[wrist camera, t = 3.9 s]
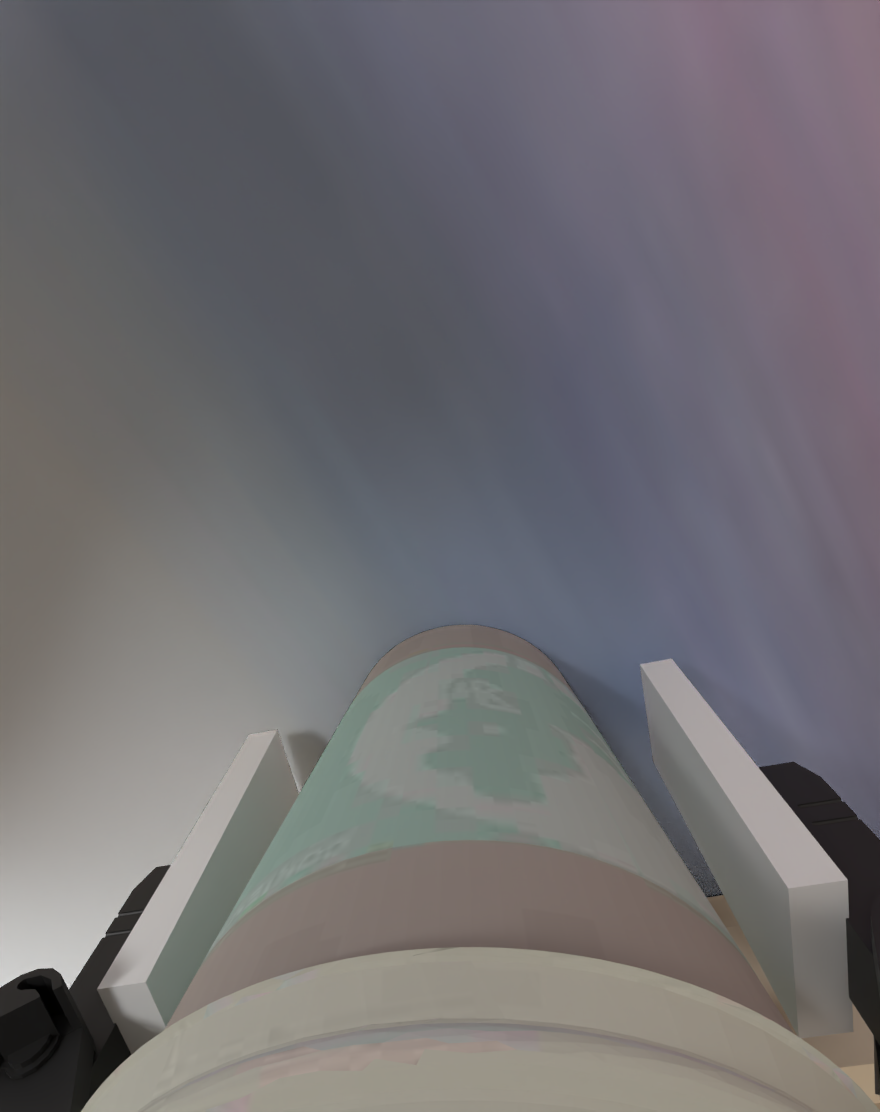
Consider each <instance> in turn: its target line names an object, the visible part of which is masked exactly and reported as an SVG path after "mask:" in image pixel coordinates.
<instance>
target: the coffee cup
mask: <svg viewBox="0 0 880 1112" xmlns="http://www.w3.org/2000/svg"><path fill="white" fill-rule="evenodd" d="M81 1112H880V1110H879V1109H878V1107H877V1106H876V1105H875V1104H874V1103H873V1101H872V1100H871V1099H870V1098H869V1097H868V1096H867V1094H866V1093H865V1092H864V1091H863V1090H862V1089H861V1088H860V1087H859V1086H858V1085H857V1084H856V1083H855V1082H854V1081H853V1080H852V1079H851V1078H850V1077H849V1076H848V1075H847V1074H846V1073H845V1072H843V1071H842V1070H841V1069H840V1068H839V1067H838V1066H837V1065H835V1064H834V1063H833V1062H832V1061H831V1060H829V1059H828V1058H827V1057H826V1056H824V1055H823V1054H822V1053H821V1052H819V1051H818V1050H817V1049H815V1048H814V1047H812V1046H811V1045H810V1044H808V1043H807V1042H805V1041H804V1040H803V1039H801V1038H799V1037H798V1036H796V1035H795V1034H794V1033H793V1032H792V1030H791V1029H790V1027H789V1025H788V1024H787V1022H786V1021H785V1019H784V1018H783V1016H782V1015H781V1013H780V1011H779V1010H778V1008H777V1007H776V1005H775V1004H774V1002H773V1000H772V999H771V997H770V996H769V994H768V993H767V991H766V989H765V988H764V986H763V985H762V983H761V982H760V980H759V979H758V977H757V975H756V973H755V972H754V970H753V969H752V967H751V966H750V964H749V963H748V961H747V959H746V958H745V956H744V955H743V953H742V952H741V950H740V949H739V947H738V946H737V944H736V942H735V941H734V939H733V938H732V936H731V935H730V933H729V932H728V930H727V928H726V927H725V925H724V924H723V922H722V921H721V919H720V918H719V916H718V915H717V913H716V911H715V910H714V908H713V907H712V905H711V904H710V902H709V901H708V899H707V898H706V896H705V894H704V893H703V891H702V890H701V888H700V887H699V885H698V884H697V882H696V881H695V879H694V877H693V876H692V874H691V873H690V871H689V870H688V868H687V867H686V865H685V863H684V862H683V860H682V859H681V857H680V856H679V854H678V853H677V851H676V850H675V848H674V846H673V845H672V843H671V842H670V840H669V839H668V837H667V836H666V834H665V833H664V831H663V829H662V828H661V826H660V825H659V823H658V822H657V820H656V819H655V817H654V815H653V814H652V812H651V811H650V809H649V808H648V806H647V805H646V803H645V802H644V800H643V798H642V797H641V795H640V794H639V792H638V791H637V789H636V788H635V786H634V785H633V783H632V781H631V780H630V778H629V777H628V775H627V774H626V772H625V771H624V769H623V768H622V766H621V764H620V763H619V761H618V760H617V758H616V757H615V755H614V754H613V752H612V750H611V749H610V747H609V746H608V744H607V743H606V741H605V740H604V738H603V737H602V735H601V733H600V732H599V730H598V729H597V727H596V726H595V724H594V723H593V721H592V720H591V718H590V716H589V715H588V713H587V712H586V710H585V709H584V707H583V706H582V704H581V703H580V702H579V700H578V699H577V697H576V696H575V694H574V693H573V691H572V690H571V688H570V686H569V685H568V683H567V682H566V680H565V679H564V677H563V676H562V674H561V673H560V672H559V670H558V669H557V667H556V666H555V665H554V664H553V662H552V661H551V660H550V659H549V658H548V657H547V656H546V655H545V654H543V653H542V652H541V651H540V650H539V649H537V648H536V647H535V646H533V645H532V644H530V643H529V642H527V641H525V640H523V639H522V638H520V637H518V636H515V635H513V634H511V633H508V632H505V631H502V630H499V629H495V628H491V627H486V626H479V625H451V626H444V627H439V628H435V629H431V630H427V631H424V632H421V633H419V634H417V635H414V636H412V637H410V638H408V639H406V640H405V641H403V642H401V643H400V644H398V645H397V646H395V647H394V648H393V649H391V650H390V651H389V652H388V653H387V654H385V655H384V656H383V657H382V658H381V659H380V660H379V662H378V663H377V664H376V665H375V666H374V668H373V669H372V670H371V672H370V673H369V675H368V676H367V678H366V680H365V681H364V683H363V685H362V687H361V688H360V690H359V692H358V693H357V695H356V697H355V698H354V700H353V702H352V703H351V705H350V707H349V709H348V710H347V712H346V713H345V715H344V717H343V719H342V720H341V722H340V724H339V726H338V727H337V729H336V731H335V733H334V734H333V736H332V738H331V740H330V741H329V743H328V745H327V746H326V748H325V750H324V752H323V753H322V755H321V757H320V759H319V760H318V762H317V764H316V766H315V767H314V769H313V771H312V773H311V774H310V776H309V778H308V780H307V781H306V783H305V785H304V786H303V788H302V790H301V792H300V793H299V795H298V797H297V799H296V800H295V802H294V804H293V806H292V807H291V809H290V811H289V813H288V814H287V816H286V818H285V820H284V821H283V823H282V825H281V826H280V828H279V830H278V832H277V833H276V835H275V837H274V839H273V840H272V842H271V844H270V846H269V847H268V849H267V851H266V853H265V854H264V856H263V858H262V859H261V861H260V863H259V865H258V866H257V868H256V870H255V872H254V873H253V875H252V877H251V879H250V880H249V882H248V884H247V886H246V887H245V889H244V891H243V893H242V894H241V896H240V898H239V899H238V901H237V903H236V905H235V906H234V908H233V910H232V912H231V913H230V915H229V917H228V919H227V920H226V922H225V924H224V926H223V927H222V929H221V931H220V933H219V934H218V936H217V938H216V939H215V941H214V943H213V945H212V946H211V948H210V950H209V952H208V953H207V955H206V957H205V959H204V960H203V962H202V964H201V966H200V967H199V969H198V971H197V972H196V974H195V977H194V978H193V980H192V982H191V984H190V985H189V987H188V989H187V991H186V992H185V994H184V996H183V998H182V999H181V1001H180V1003H179V1005H178V1006H177V1008H176V1010H175V1012H174V1013H173V1015H172V1017H171V1019H170V1021H169V1022H168V1024H167V1026H166V1028H165V1029H164V1030H163V1031H162V1032H161V1033H159V1034H158V1035H156V1036H155V1037H153V1038H152V1039H151V1040H149V1041H148V1042H147V1043H145V1044H144V1045H143V1046H141V1047H140V1048H139V1049H138V1050H137V1051H135V1052H134V1053H133V1054H132V1055H131V1056H129V1057H128V1058H127V1059H126V1060H125V1061H124V1062H123V1063H122V1064H121V1065H120V1066H119V1067H118V1068H116V1069H115V1070H114V1071H113V1072H112V1073H111V1074H110V1076H109V1077H108V1078H107V1079H106V1080H105V1081H104V1082H103V1083H102V1084H101V1086H100V1087H99V1088H98V1089H97V1090H96V1092H95V1093H94V1094H93V1095H92V1097H91V1098H90V1099H89V1101H88V1102H87V1103H86V1105H85V1106H84V1108H83V1109H82V1111H81Z"/></svg>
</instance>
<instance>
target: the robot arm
mask: <svg viewBox="0 0 880 1112" xmlns="http://www.w3.org/2000/svg"><path fill="white" fill-rule="evenodd" d="M640 670H641V677H642V685H643V692H644V699H645V707H646V714H647V721H648V729H649V736H650V743H651V751H652V758H653V762H654V764H655V766H656V768H657V770H658V772H659V774H660V776H661V778H662V779H663V781H664V783H665V785H666V787H667V789H668V791H669V793H670V795H671V797H672V798H673V800H674V802H675V804H676V806H677V808H678V810H679V812H680V814H681V816H682V817H683V819H684V821H685V823H686V825H687V827H688V829H689V831H690V833H691V835H692V836H693V838H694V840H695V842H696V844H697V846H698V848H699V850H700V852H701V854H702V855H703V857H704V859H705V861H706V863H707V865H708V867H709V869H710V871H711V873H712V874H713V876H714V878H715V880H716V882H717V884H718V886H719V888H720V890H721V892H722V893H723V895H724V897H725V899H726V901H727V903H728V905H729V907H730V909H731V911H732V912H733V914H734V916H735V918H736V920H737V922H738V924H739V926H740V928H741V930H742V931H743V933H744V935H745V937H746V939H747V941H748V943H749V945H750V947H751V949H752V950H753V952H754V954H755V956H756V958H757V960H758V962H759V964H760V966H761V968H762V969H763V971H764V973H765V975H766V977H767V979H768V981H769V983H770V985H771V987H772V988H773V990H774V992H775V994H776V996H777V998H778V1000H779V1002H780V1004H781V1006H782V1007H783V1009H784V1011H785V1013H786V1015H787V1017H788V1019H789V1021H790V1023H791V1025H792V1026H793V1028H794V1030H795V1032H796V1034H797V1036H798V1037H799V1038H808V1037H816V1036H824V1035H832V1034H840V1033H848V1032H853V1010H852V1003H853V1004H854V1006H855V1007H856V1009H857V1011H858V1012H859V1014H860V1015H861V1017H862V1018H863V1020H864V1021H865V1023H866V1025H867V1026H868V1028H869V1029H870V1031H871V1032H872V1034H873V1035H874V1072H875V1094H877V1095H880V840H879V839H878V838H877V836H876V835H875V834H874V833H873V832H872V831H871V830H870V829H869V828H868V827H867V826H866V825H865V824H864V823H863V821H862V820H858V818H857V815H856V814H855V813H854V812H853V811H852V810H851V809H850V808H849V807H848V805H847V804H846V803H845V802H842V801H841V798H840V797H839V796H838V795H837V794H836V793H835V792H834V790H833V789H832V788H831V787H830V786H829V785H828V784H827V783H826V782H825V781H824V780H823V779H822V778H821V777H820V776H818V775H816V774H814V773H813V772H811V771H809V770H807V769H805V768H804V767H802V766H800V765H798V764H797V763H795V762H789V763H783V764H777V765H771V766H765V767H759V768H758V766H757V765H756V764H755V763H754V761H753V760H752V759H751V758H750V756H749V755H748V754H747V753H746V751H745V750H744V749H743V748H742V746H741V745H740V744H739V743H738V741H737V740H736V739H735V737H734V736H733V735H732V734H731V732H730V731H729V730H728V729H727V727H726V726H725V725H724V724H723V722H722V721H721V720H720V719H719V717H718V716H717V715H716V714H715V712H714V711H713V710H712V709H711V707H710V706H709V705H708V704H707V702H706V701H705V700H704V698H703V697H702V696H701V695H700V693H699V692H698V691H697V690H696V688H695V687H694V686H693V685H692V683H691V682H690V681H689V680H688V678H687V677H686V676H685V675H684V673H683V672H682V671H681V670H680V668H679V667H678V666H677V665H676V663H675V662H674V661H673V659H666V660H661V661H655V662H650V663H644V664H640ZM298 795H299V794H298V790H297V787H296V784H295V781H294V778H293V775H292V772H291V769H290V766H289V763H288V760H287V757H286V754H285V751H284V748H283V745H282V742H281V739H280V736H279V733H278V729H277V730H272V731H266V732H261V733H255V734H249V735H248V737H247V739H246V740H245V742H244V744H243V745H242V747H241V749H240V750H239V752H238V754H237V755H236V757H235V759H234V760H233V762H232V764H231V765H230V767H229V769H228V770H227V772H226V774H225V775H224V777H223V779H222V780H221V782H220V784H219V785H218V787H217V789H216V790H215V792H214V794H213V796H212V797H211V799H210V801H209V802H208V804H207V806H206V807H205V809H204V811H203V812H202V814H201V816H200V817H199V819H198V821H197V822H196V824H195V826H194V827H193V829H192V831H191V832H190V834H189V836H188V837H187V839H186V841H185V842H184V844H183V846H182V847H181V849H180V851H179V852H178V854H177V856H176V857H175V859H174V861H173V863H172V864H171V865H168V866H161V867H156V868H155V869H154V870H153V871H152V872H151V873H150V874H149V875H148V876H147V877H146V878H145V879H144V880H143V881H142V882H141V883H140V884H139V885H138V886H137V887H136V888H134V890H133V891H132V893H131V894H130V896H129V897H128V899H127V900H126V902H125V904H124V905H123V907H122V908H121V910H120V911H119V913H118V914H119V916H118V917H117V918H115V919H114V921H113V922H112V924H111V925H110V927H109V928H108V930H107V932H106V937H105V938H102V939H101V941H100V942H99V944H98V946H97V947H96V949H95V950H94V952H93V953H92V955H91V956H90V958H89V960H88V961H87V963H86V964H85V966H84V967H83V969H82V970H81V972H80V974H79V975H78V977H77V978H76V980H75V981H74V983H73V984H72V986H71V988H70V989H69V990H68V988H67V986H66V984H65V982H64V980H63V978H62V976H61V974H60V973H58V972H57V971H56V970H54V969H53V968H48V969H37V970H34V971H31V972H28V973H26V974H23V975H20V976H19V977H17V978H15V979H14V980H12V981H10V982H9V983H7V984H5V985H4V986H2V987H1V988H0V1112H81V1111H82V1109H83V1108H84V1106H85V1105H86V1103H87V1102H88V1101H89V1099H90V1098H91V1097H92V1095H93V1094H94V1093H95V1092H96V1090H97V1089H98V1088H99V1087H100V1086H101V1084H102V1083H103V1082H104V1081H105V1080H106V1079H107V1078H108V1077H109V1076H110V1074H111V1073H112V1072H113V1071H114V1070H115V1069H116V1068H118V1067H119V1066H120V1065H121V1064H122V1063H123V1062H124V1061H125V1060H126V1059H127V1058H128V1057H129V1056H131V1055H132V1054H133V1053H134V1052H135V1051H137V1050H138V1049H139V1048H140V1047H141V1046H143V1045H144V1044H145V1043H147V1042H148V1041H149V1040H151V1039H152V1038H153V1037H155V1036H156V1035H158V1034H159V1033H161V1032H162V1031H163V1030H164V1029H165V1028H166V1026H167V1024H168V1022H169V1021H170V1019H171V1017H172V1015H173V1013H174V1012H175V1010H176V1008H177V1006H178V1005H179V1003H180V1001H181V999H182V998H183V996H184V994H185V992H186V991H187V989H188V987H189V985H190V984H191V982H192V980H193V978H194V977H195V974H196V972H197V971H198V969H199V967H200V966H201V964H202V962H203V960H204V959H205V957H206V955H207V953H208V952H209V950H210V948H211V946H212V945H213V943H214V941H215V939H216V938H217V936H218V934H219V933H220V931H221V929H222V927H223V926H224V924H225V922H226V920H227V919H228V917H229V915H230V913H231V912H232V910H233V908H234V906H235V905H236V903H237V901H238V899H239V898H240V896H241V894H242V893H243V891H244V889H245V887H246V886H247V884H248V882H249V880H250V879H251V877H252V875H253V873H254V872H255V870H256V868H257V866H258V865H259V863H260V861H261V859H262V858H263V856H264V854H265V853H266V851H267V849H268V847H269V846H270V844H271V842H272V840H273V839H274V837H275V835H276V833H277V832H278V830H279V828H280V826H281V825H282V823H283V821H284V820H285V818H286V816H287V814H288V813H289V811H290V809H291V807H292V806H293V804H294V802H295V800H296V799H297V797H298Z"/></svg>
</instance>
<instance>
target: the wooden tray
mask: <svg viewBox="0 0 880 1112" xmlns="http://www.w3.org/2000/svg"><path fill="white" fill-rule="evenodd" d="M706 898H707V899H708V901H709V902H710V904H711V905H712V907H713V908H714V910H715V911H716V913H717V915H718V916H719V918H720V919H721V921H722V922H723V924H724V925H725V927H726V928H727V930H728V932H729V933H730V935H731V936H732V938H733V939H734V941H735V942H736V944H737V946H738V947H739V949H740V950H741V952H742V953H743V955H744V956H745V958H746V959H747V961H748V963H749V964H750V966H751V967H752V969H753V970H754V972H755V973H756V975H757V977H758V979H759V980H760V982H761V983H762V985H763V986H764V988H765V989H766V991H767V993H768V994H769V996H770V997H771V999H772V1000H773V1002H774V1004H775V1005H776V1007H777V1008H778V1010H779V1011H780V1013H781V1015H782V1016H783V1018H784V1019H785V1021H786V1022H787V1024H788V1025H789V1027H790V1029H791V1030H792V1032H793V1033H794V1034H795V1035H796V1036H797V1034H796V1032H795V1030H794V1028H793V1026H792V1025H791V1023H790V1021H789V1019H788V1017H787V1015H786V1013H785V1011H784V1009H783V1007H782V1006H781V1004H780V1002H779V1000H778V998H777V996H776V994H775V992H774V990H773V988H772V987H771V985H770V983H769V981H768V979H767V977H766V975H765V973H764V971H763V969H762V968H761V966H760V964H759V962H758V960H757V958H756V956H755V954H754V952H753V950H752V949H751V947H750V945H749V943H748V941H747V939H746V937H745V935H744V933H743V931H742V930H741V928H740V926H739V924H738V922H737V920H736V918H735V916H734V914H733V912H732V911H731V909H730V907H729V905H728V903H727V901H726V899H725V897H724V895H719V896H713V897H706ZM852 1010H853V1032H848V1033H840V1034H832V1035H824V1036H816V1037H808V1038H801V1039H803V1040H804V1041H805V1042H807V1043H808V1044H810V1045H811V1046H812V1047H814V1048H815V1049H817V1050H818V1051H819V1052H821V1053H822V1054H823V1055H824V1056H826V1057H827V1058H828V1059H829V1060H831V1061H832V1062H833V1063H834V1064H835V1065H837V1066H838V1067H839V1068H840V1069H841V1070H842V1071H843V1072H845V1073H846V1074H847V1075H848V1076H849V1077H850V1078H851V1079H852V1080H853V1081H854V1082H855V1083H856V1084H857V1085H858V1086H859V1087H860V1088H861V1089H862V1090H863V1091H864V1092H865V1093H866V1094H867V1096H868V1097H869V1098H870V1099H871V1100H872V1101H873V1103H874V1104H875V1105H876V1106H877V1107H878V1109H879V1110H880V1095H877V1094H875V1072H874V1035H873V1034H872V1032H871V1031H870V1029H869V1028H868V1026H867V1025H866V1023H865V1021H864V1020H863V1018H862V1017H861V1015H860V1014H859V1012H858V1011H857V1009H856V1007H855V1006H854V1004H853V1003H852Z"/></svg>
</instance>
